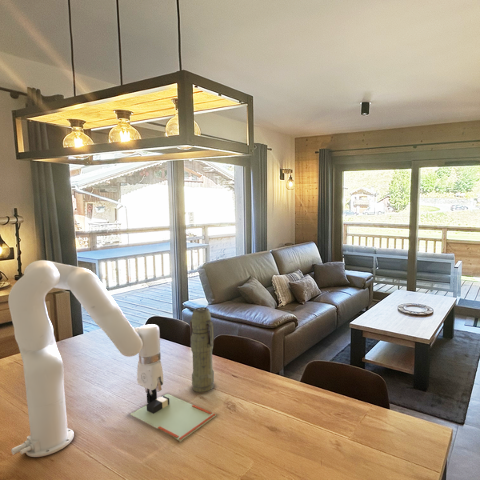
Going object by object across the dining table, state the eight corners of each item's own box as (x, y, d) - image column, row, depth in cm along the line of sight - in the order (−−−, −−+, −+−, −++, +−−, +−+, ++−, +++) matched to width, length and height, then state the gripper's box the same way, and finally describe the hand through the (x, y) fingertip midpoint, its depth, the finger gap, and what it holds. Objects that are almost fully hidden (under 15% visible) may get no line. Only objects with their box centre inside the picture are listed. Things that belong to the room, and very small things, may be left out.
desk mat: (180, 441, 115) (180, 439, 115) (129, 415, 129) (129, 413, 129) (216, 415, 129) (216, 414, 129) (167, 394, 143) (167, 392, 143)
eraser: (153, 414, 129) (153, 407, 129) (146, 410, 131) (146, 404, 131) (169, 404, 135) (169, 398, 135) (162, 401, 137) (162, 395, 137)
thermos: (198, 380, 154) (196, 304, 150) (221, 385, 150) (219, 307, 146) (184, 390, 146) (181, 310, 141) (208, 396, 142) (206, 314, 137)
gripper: (128, 356, 133) (131, 401, 135) (153, 366, 126) (155, 413, 128) (146, 349, 139) (148, 391, 142) (171, 357, 132) (173, 402, 134)
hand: (152, 401), depth 135 cm, fingers closed
